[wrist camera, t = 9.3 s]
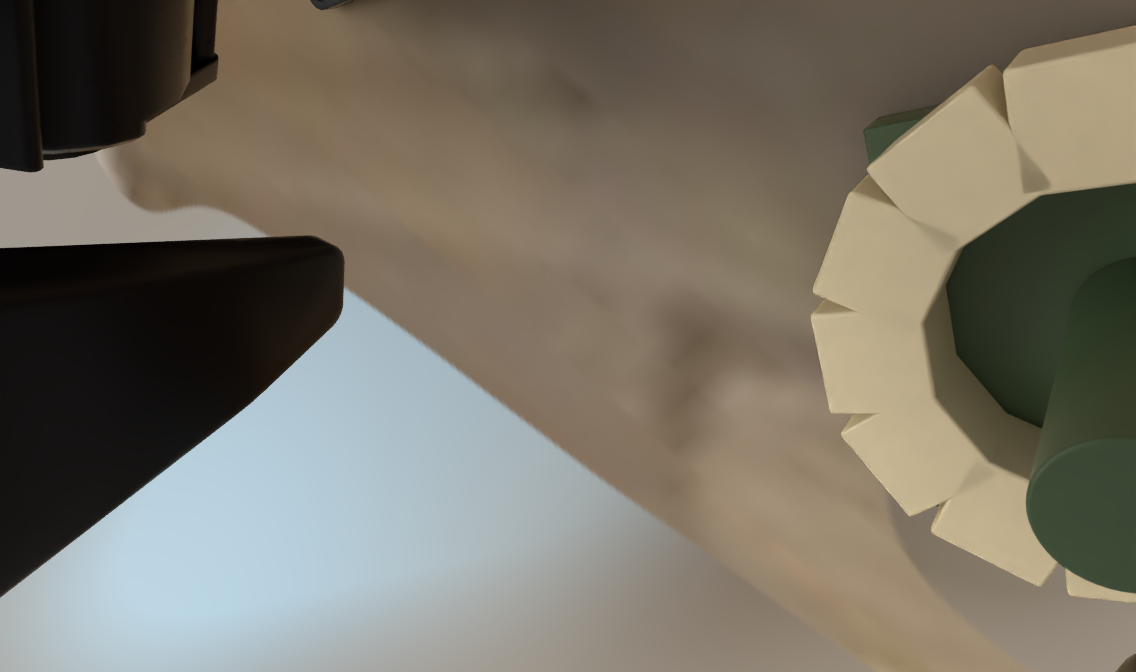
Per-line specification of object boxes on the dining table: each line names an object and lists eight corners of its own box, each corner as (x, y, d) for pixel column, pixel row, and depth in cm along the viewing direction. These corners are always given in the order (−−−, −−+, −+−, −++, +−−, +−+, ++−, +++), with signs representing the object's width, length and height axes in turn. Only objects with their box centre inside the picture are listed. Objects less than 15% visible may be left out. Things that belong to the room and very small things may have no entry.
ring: (886, 521, 22) (862, 576, 20) (804, 96, 18) (767, 118, 17) (1493, 564, 15) (1531, 648, 14) (1521, -60, 12) (1574, -48, 11)
